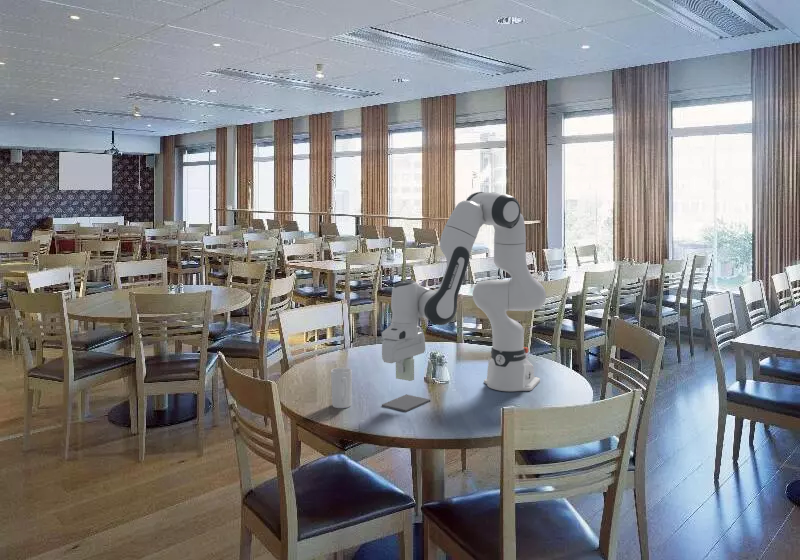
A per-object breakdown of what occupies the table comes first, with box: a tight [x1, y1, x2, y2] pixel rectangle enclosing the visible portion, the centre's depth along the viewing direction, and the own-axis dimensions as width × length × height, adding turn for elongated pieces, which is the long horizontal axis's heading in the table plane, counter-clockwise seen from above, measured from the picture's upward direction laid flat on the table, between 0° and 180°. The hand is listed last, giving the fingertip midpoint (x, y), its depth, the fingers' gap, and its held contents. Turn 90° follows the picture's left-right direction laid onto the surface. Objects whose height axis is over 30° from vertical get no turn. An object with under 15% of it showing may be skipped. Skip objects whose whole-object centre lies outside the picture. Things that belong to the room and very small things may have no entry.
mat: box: [381, 394, 431, 413], centre depth 231 cm, size 14×10×1 cm
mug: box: [330, 367, 353, 409], centre depth 227 cm, size 10×7×12 cm, turn 17°
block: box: [395, 358, 415, 382], centre depth 228 cm, size 2×6×7 cm, turn 54°
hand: (404, 371), depth 228 cm, fingers closed on block, 2 cm apart
